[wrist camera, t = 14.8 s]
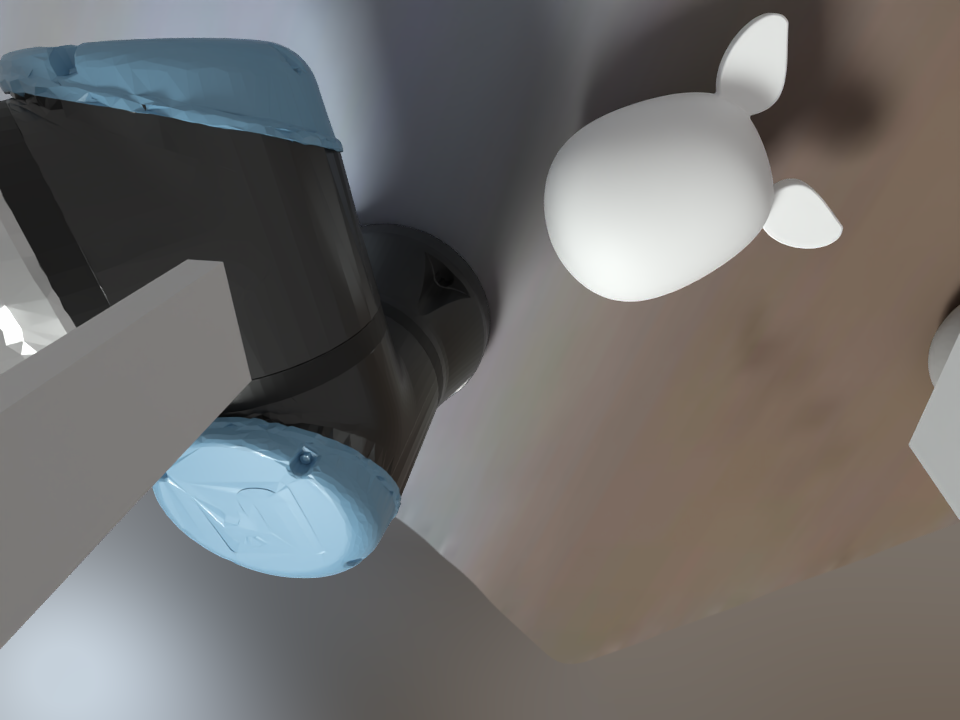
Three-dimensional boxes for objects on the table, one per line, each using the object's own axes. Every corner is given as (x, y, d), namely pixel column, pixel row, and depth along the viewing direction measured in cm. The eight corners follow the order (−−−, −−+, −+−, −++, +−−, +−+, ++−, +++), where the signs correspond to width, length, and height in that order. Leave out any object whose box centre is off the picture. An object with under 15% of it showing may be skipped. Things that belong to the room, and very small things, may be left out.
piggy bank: (574, 255, 45) (783, 165, 40) (601, 365, 37) (868, 267, 32) (500, 109, 37) (748, -25, 33) (513, 206, 29) (849, 45, 24)
